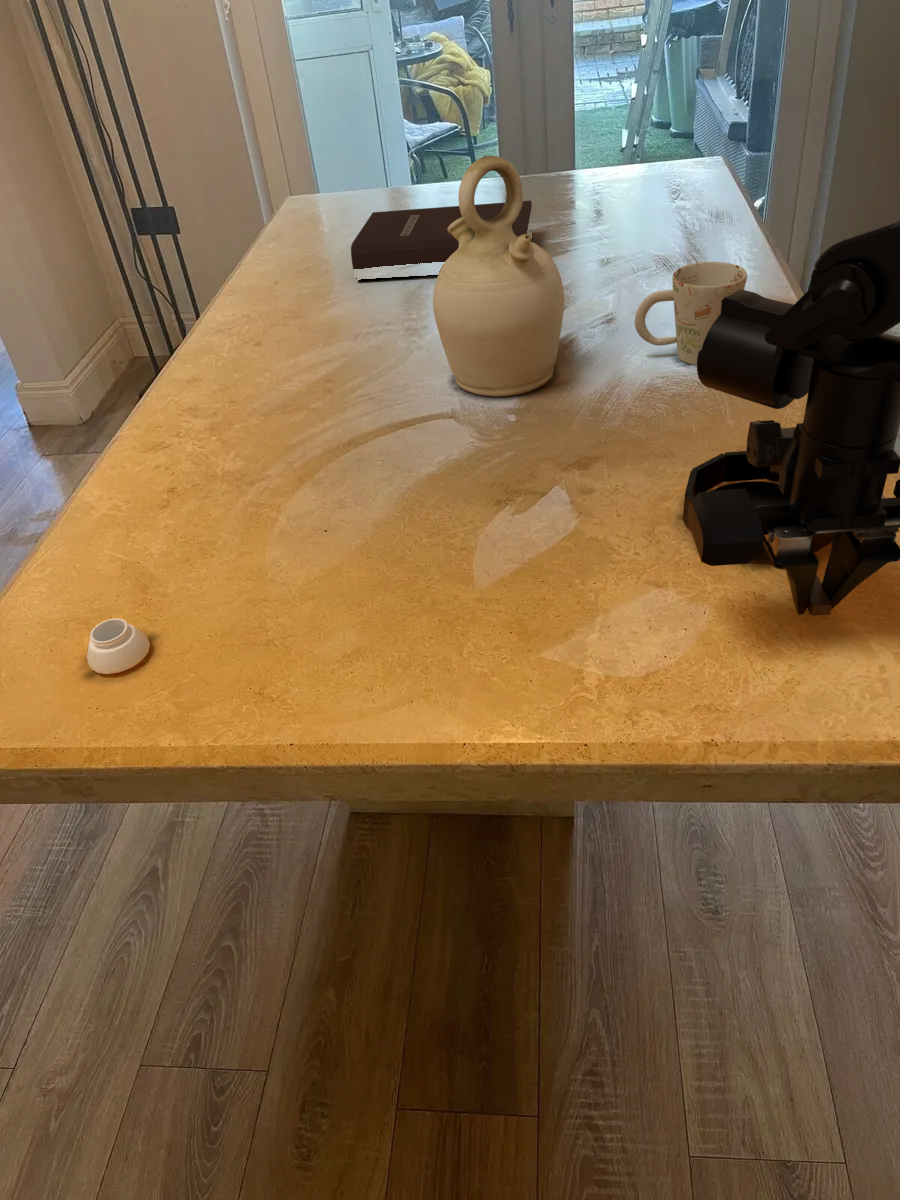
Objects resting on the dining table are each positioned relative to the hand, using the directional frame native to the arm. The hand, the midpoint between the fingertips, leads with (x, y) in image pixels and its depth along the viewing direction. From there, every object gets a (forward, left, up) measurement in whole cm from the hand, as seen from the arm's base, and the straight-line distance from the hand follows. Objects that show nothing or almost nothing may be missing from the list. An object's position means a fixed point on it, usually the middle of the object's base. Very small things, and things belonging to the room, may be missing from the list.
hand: (811, 610), depth 65 cm
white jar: (+54, -16, -2) cm, 56 cm away
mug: (-13, -49, -2) cm, 51 cm away
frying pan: (-3, -9, -1) cm, 10 cm away
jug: (+9, -54, -2) cm, 54 cm away
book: (+4, -102, -2) cm, 102 cm away
